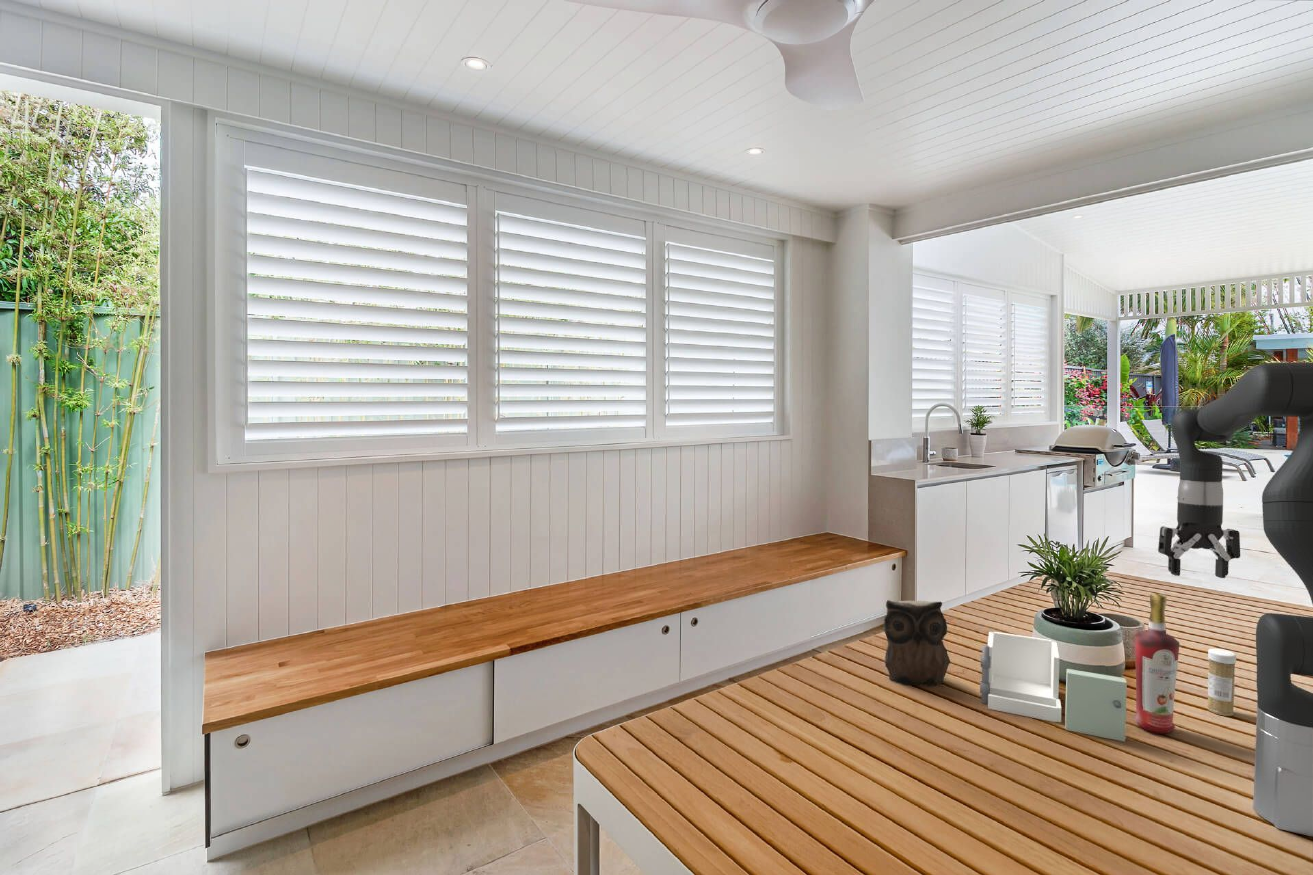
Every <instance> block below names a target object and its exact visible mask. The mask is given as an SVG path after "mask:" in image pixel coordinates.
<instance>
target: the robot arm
mask: <svg viewBox="0 0 1313 875" xmlns="http://www.w3.org/2000/svg"><path fill="white" fill-rule="evenodd" d="M1258 416H1264V417H1265V416H1266V417H1279V418H1280V417H1282V418H1283V417H1284V418H1286V417H1287V418H1299V431H1298V432H1299V433H1298V436H1297V442H1296V444H1295V446H1294V448H1293V450H1292V451H1291V453H1290V455H1289V456H1287V458H1286V460H1285V461H1284V462H1283V463H1282V464H1281V466H1280V467H1279V468H1278V469H1277V471H1276V472H1275V473H1274V474H1273V475H1272V477H1271V478H1270V479H1269V480H1268V482H1267V484H1266V485H1265V487H1264V489H1263V491H1262V495H1261V503H1262V506H1261V507H1262V525H1263V531H1264V533H1265V536H1266V538H1267V539H1268V542H1269V543H1270V544H1271V546H1272V547H1273V549H1275V550H1276V552H1277V553H1278V554H1279V555H1280V556H1281V558H1282V559H1284V561H1285V562H1286V563H1287V564H1288V565H1289V567H1290V568H1292V570H1293V571H1294V572H1295V574H1297V576H1298V577H1299V579H1300V580H1301V581H1302V583H1303V585H1304V587H1305V589H1306V590H1307V592H1308V595H1309V597H1310V600H1311V604H1312V605H1313V362H1312V361H1311V362H1303V361H1302V362H1300V361H1299V362H1290V361H1289V362H1287V361H1286V362H1285V361H1284V362H1266V363H1260V364H1257V365H1255V366H1253V367H1251V368H1250V369H1249V370H1248V371H1246V372H1245V373H1244V374H1243V375H1242V376H1241V377H1239V379H1238V380H1237V381H1236V382H1235V383H1234V384H1233V385H1232V386H1230V388H1229V389H1228V391H1226V393H1225V394H1224V395H1222V396H1220V397H1219V398H1216V399H1214V400H1213V401H1212V400H1211V402H1208V403H1206V404H1205V405H1203V406H1202V407H1201V408H1199V409H1198V408H1197V409H1196V408H1195V409H1194V408H1187V409H1186V408H1184V409H1180V410H1178V411H1177V412H1175V413H1174V414H1173V416H1172V418H1171V420H1170V431H1171V433H1172V437H1173V439H1174V442H1175V444H1176V445H1175V446H1176V449H1177V454H1178V456H1179V482H1178V489H1177V496H1176V498H1177V511H1176V513H1177V514H1176V516H1177V517H1176V520H1177V525H1176V527H1167V526H1164V525H1163V526H1160V528H1159V537H1158V538H1159V539H1158V548H1157V551H1158V553H1159V554H1161V555H1164V556H1166V557H1168V558H1167V559H1168V560H1167V564H1168V565H1167V569H1168V572H1170V574H1171V575H1173V576H1177V577H1180V576H1181V559H1180V558H1181V557H1182V556H1183V555H1184V554H1185V553H1186V552H1188V551H1189V550H1190V549H1193V550H1199V549H1204V550H1209V551H1211V552H1212V553H1213V554H1214V555H1215V557H1216V558H1215V565H1214V568H1215V573H1214V574H1215V577H1217V578H1219V579H1225V578H1226V576H1228V575H1229V564H1230V561H1231V560H1234V559H1240V557H1241V540H1240V539H1241V538H1240V537H1241V535H1240V531H1238V530H1236V529H1232V528H1227V529H1223V528H1222V525H1223V521H1224V520H1223V519H1224V518H1223V517H1224V514H1223V513H1224V489H1223V488H1224V487H1223V469H1224V468H1223V463H1224V462H1223V458H1222V457H1221V456H1220V455H1219V454H1216V453H1211V452H1206V451H1202V450H1200V449H1199V448H1198V447H1197V446H1196V443H1198V442H1200V443H1203V442H1205V443H1207V442H1209V443H1219V442H1226V441H1229V440H1231V439H1232V438H1233V436H1234V434H1235V433H1236V432H1237V431H1240V430H1241V429H1244V428H1246V427H1248V426H1249V425H1251V424H1252V423H1253V422H1254V421H1255V420H1256V418H1257V417H1258ZM1175 536H1177V537H1178V539H1177V540H1176V541H1175V542H1174V543H1173V538H1175ZM1222 537H1223V538H1224V540H1225V547H1224V546H1223V545H1222V543H1221V542H1220V540H1221V539H1222ZM1172 543H1173V544H1172ZM1255 629H1256V630H1255V653H1256V655H1255V656H1256V691H1257V692H1256V695H1257V698H1256V699H1257V700H1256V701H1257V702H1256V724H1255V743H1254V744H1255V745H1254V746H1255V748H1254V774H1253V776H1254V777H1253V796H1252V798H1253V800H1252V806H1253V807H1252V808H1253V809H1254V811H1255V813H1256V814H1258V815H1259V816H1260V817H1261V818H1263V819H1264V820H1266V821H1268V822H1269V823H1270V824H1272V825H1274V828H1276V829H1278V830H1282V831H1283V830H1284V831H1287V832H1291V833H1296V834H1301V835H1305V836H1309V837H1313V692H1311V691H1308V690H1306V689H1304V688H1302V687H1299V686H1297V685H1296V684H1294V683H1293V682H1292V678H1291V675H1298V676H1305V677H1312V678H1313V617H1312V616H1306V615H1305V616H1303V615H1295V614H1284V613H1273V612H1269V613H1268V612H1267V613H1264V614H1262V615H1261V616H1260V617H1259V619H1258V620H1257V624H1256V628H1255Z"/></svg>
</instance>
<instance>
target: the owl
mask: <svg viewBox="0 0 1313 875" xmlns="http://www.w3.org/2000/svg"><path fill="white" fill-rule="evenodd" d="M942 606H943V602H942V601H928V600H927V601H926V600H910V599H909V600H898V601H897V600H896V601H895V600H894V601H893V600H890V599H888V600H887V601H886V602H885V607H886V614H885V616H884V619H883V621H884V622H883V626H884V628H883V632H884V634H885V637H886V640H887V647H886V651H885V656H884V657H885V658H884V664H885V667H886V669H887V671H888V677H889V678H888V679H889V680H890V681H891V682H893V683H897V684H901V685H905V686H911V685H915V686H916V687H919V686H927V687H933V686H936V685H938V684H942V683H945V676H946V674H947V670H948V668H949V665H950V663H951V659H950V657H949V653H948V649H947V648H946V646H945V644H944V641H943V639H944V638H945V636H946V635H947V634H948V624H947V620H946V618H945V615H944V614H943V612H942V609H941V608H942Z"/></svg>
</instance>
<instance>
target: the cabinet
mask: <svg viewBox="0 0 1313 875" xmlns="http://www.w3.org/2000/svg"><path fill="white" fill-rule="evenodd" d="M1057 643H1058V642H1057V640H1054V639H1046V638H1041V637H1040V638H1039V637H1033V636H1028V635H1027V636H1026V635H1020V634H1012V633H1007V632H1000V631H999V632H998V631H991V630H989V631H988V640H987V645H986V644H983V645H982V648H981V650H982V652H981V653H982V654H981V655H980V667H981V680H980V683H979V693H980V694H981V699H980V700H981V704H983V705H987V709H989V710H993V711H999V712H1004V713H1008V714H1014V715H1018V716H1022V717H1023V716H1024V717H1028V718H1033V719H1038V720H1043V721H1047V722H1053V723H1057V722H1058V723H1062V705H1061V704H1062V703H1061V699H1059V688H1060V687H1059V685H1060V684H1059V682H1060V654H1059V648H1058V644H1057Z"/></svg>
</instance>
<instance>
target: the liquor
mask: <svg viewBox="0 0 1313 875" xmlns="http://www.w3.org/2000/svg"><path fill="white" fill-rule="evenodd" d="M1149 606H1150V613H1149V621H1148V629H1147V630H1142V631H1140V632H1138V633H1136V634H1134V662H1135V666H1134V667H1135V684H1136V685H1135V688H1136V690H1135V692H1136V695H1135V696H1136V697H1135V698H1136V701H1135V703H1136V714H1134V716H1133V721H1135V722H1136V723H1137V724H1138V726H1139V727H1140V728H1141V729H1142V730H1144V731H1146V732H1149V733H1152V734H1159V735H1164V734H1167V733H1170V732H1171V731H1174V730H1175V729H1176V726H1175V724H1174V722H1173V720H1174V708H1175V707H1174V705H1175V693H1176V692H1175V691H1176V685H1177V684H1176V682H1177V674H1178V665H1179V653H1180V642H1179V641H1178V640H1177V639H1176V638H1175V637H1174V636H1172V635H1171V634H1168V633H1167V626H1166V616H1165V614H1166V613H1165V612H1166V611H1165V610H1166V607H1167V595H1164V594H1160V593H1150V594H1149Z"/></svg>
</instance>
